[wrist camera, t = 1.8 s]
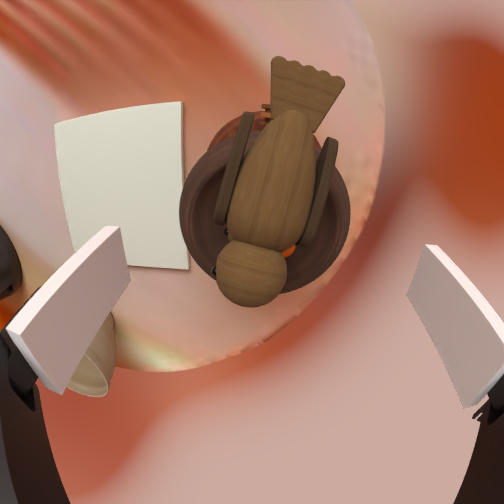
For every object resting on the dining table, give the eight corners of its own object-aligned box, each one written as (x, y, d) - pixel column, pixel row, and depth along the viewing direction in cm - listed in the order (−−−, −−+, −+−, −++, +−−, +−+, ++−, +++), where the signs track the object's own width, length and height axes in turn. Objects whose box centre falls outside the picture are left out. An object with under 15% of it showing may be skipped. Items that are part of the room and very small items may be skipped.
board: (80, 257, 31) (77, 260, 30) (58, 122, 22) (54, 123, 22) (190, 265, 31) (188, 269, 30) (183, 101, 22) (180, 101, 21)
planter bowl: (37, 267, 33) (-2, 309, 23) (113, 268, 32) (72, 325, 22) (74, 341, 40) (49, 384, 31) (146, 352, 39) (126, 407, 30)
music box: (198, 100, 22) (89, 66, 5) (315, 96, 22) (475, 80, 5) (213, 245, 29) (190, 421, 12) (314, 238, 30) (391, 396, 12)
